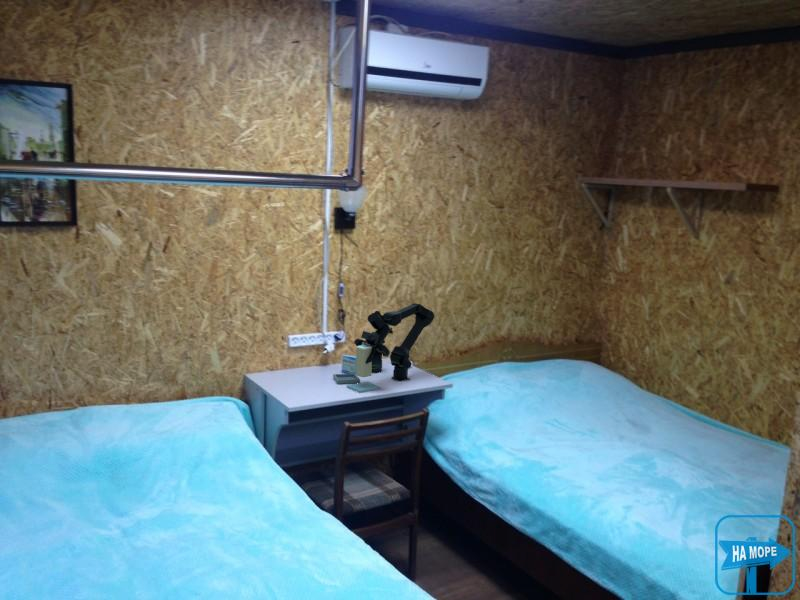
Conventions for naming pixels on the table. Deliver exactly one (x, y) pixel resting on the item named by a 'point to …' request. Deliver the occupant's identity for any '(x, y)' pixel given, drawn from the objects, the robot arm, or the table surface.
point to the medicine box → (349, 364)
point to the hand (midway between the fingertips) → (361, 362)
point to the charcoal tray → (346, 378)
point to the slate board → (363, 387)
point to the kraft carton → (363, 361)
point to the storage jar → (376, 364)
